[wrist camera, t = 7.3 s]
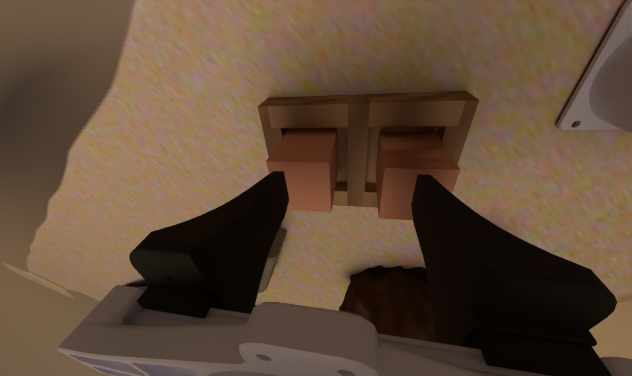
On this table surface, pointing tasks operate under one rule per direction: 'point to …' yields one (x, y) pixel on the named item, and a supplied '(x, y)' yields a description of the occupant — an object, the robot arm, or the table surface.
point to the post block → (308, 167)
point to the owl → (393, 301)
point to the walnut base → (366, 127)
